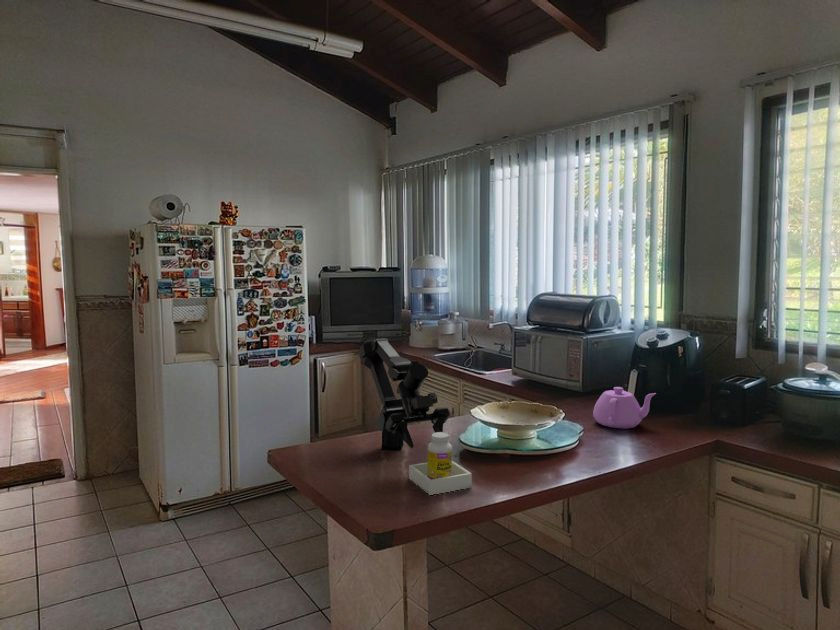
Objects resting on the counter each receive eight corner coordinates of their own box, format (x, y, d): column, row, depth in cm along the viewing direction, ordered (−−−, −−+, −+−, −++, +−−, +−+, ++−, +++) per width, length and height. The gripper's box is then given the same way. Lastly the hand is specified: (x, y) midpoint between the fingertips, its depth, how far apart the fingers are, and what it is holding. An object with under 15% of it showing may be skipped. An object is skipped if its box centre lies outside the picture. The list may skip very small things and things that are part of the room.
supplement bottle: (435, 487, 154) (435, 440, 153) (422, 478, 160) (423, 433, 159) (456, 482, 158) (457, 436, 156) (443, 474, 163) (444, 429, 162)
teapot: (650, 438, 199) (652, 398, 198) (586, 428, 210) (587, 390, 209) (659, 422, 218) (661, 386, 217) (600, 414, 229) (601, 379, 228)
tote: (409, 479, 162) (409, 465, 161) (448, 472, 167) (448, 458, 167) (429, 496, 150) (429, 481, 150) (471, 487, 156) (471, 473, 155)
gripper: (389, 386, 163) (405, 436, 155) (448, 380, 172) (466, 427, 163) (379, 407, 171) (393, 455, 163) (435, 400, 180) (452, 445, 171)
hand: (427, 445), depth 165 cm, fingers open, 9 cm apart
